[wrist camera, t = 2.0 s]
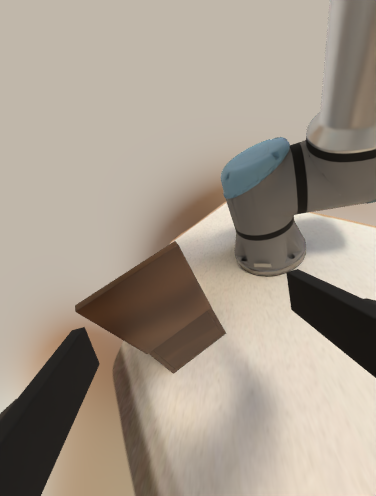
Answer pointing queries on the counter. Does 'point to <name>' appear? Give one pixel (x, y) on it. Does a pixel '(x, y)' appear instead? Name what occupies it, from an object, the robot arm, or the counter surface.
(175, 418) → the counter surface
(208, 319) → the chest
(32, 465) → the robot arm
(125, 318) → the lid
